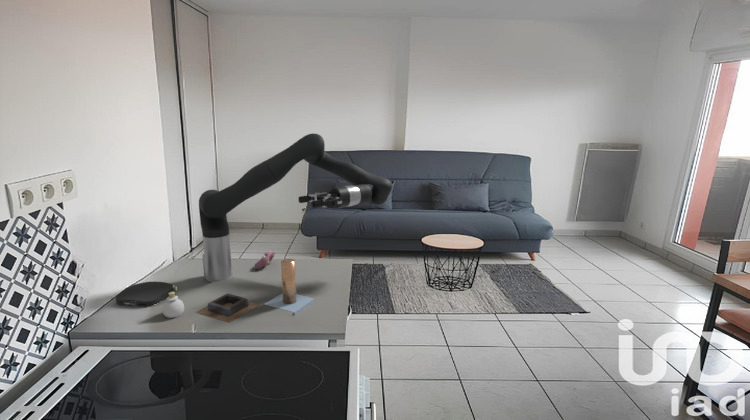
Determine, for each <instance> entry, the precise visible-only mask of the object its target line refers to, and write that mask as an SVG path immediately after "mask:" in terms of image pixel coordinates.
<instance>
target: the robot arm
mask: <svg viewBox="0 0 750 420" xmlns="http://www.w3.org/2000/svg"><path fill="white" fill-rule="evenodd" d="M325 147H326V146H325V140H324V138H323V136H322V135H320V134H319V133H308V134H305V135H303V136H302V137H301V138H299V139H298V140H296V141H295V142H293V143H292V144H291V145H289V146H288V147H286V148H285V149H283V150H282V151H280V152H278V153H277V154H275V155H273V156H271V157H270V158H268V159H266V160H264V161H262V162H260V163H258V164H257V165H255V166H254V167H252V168H250V169H249V170H247V171H246V172H245V173H244V174H243V175H242V176H241V177H240V178H239V179H238V180H237V181H235V182H234V183H233V184H231V185H229V186H228V187H225V188H224V189H221V190H217V189H208V190H205V191H204V192H202V193H201V195H200V197H199V199H198V210H199V219H200V220H199V222H200V226H201V233H202V244H203V254H202V267H203V278H204V279H205V280H206V281H207V282H208V283H210V284H211V283H213V282H219V281H225V280H228V279H230V278H231V277H233V266H232V252H231V251H232V250H231V238H230V237H231V236H230V226H229V222H228V217H227V214H228V213H229V212H232V210H234V209H235V208H237V207H238V206H239V205H241V204H242V203H243V202H245V201H246V200H248V199H251V198H252V197H254V196H256V195H258V194H260V193H262V192H263V191H265V190H267V189H269V188H271V187H272V186H273V185H276V184H277V183H279V182H280V181H281V180H283V179H284V178H285V177H286V176H287V175H288V174H289V172H290V171H291V170H292V169H293V168H294V167H295V166H296V165H297V164H298V163H300V162H301V161H305V162H306V163H309V164H310V165H312V166H314V167H317V168H320V169H323V170H324V171H327V172H330V173H331V174H334V175H335V176H338V177H339V178H341V179H342V180H345V181H346V182H348V183H349V184H348V185H342V186H341V185H340V186H334V187H332V188H331V189H330V190H329V192H325V191H324V192H322V191H316V192H307V193H306V195H301V196H298V203H299V204H304V203H310V204H311V208H313V209H315V208H327V209H330V208H331V209H332V208H334V209H341V208H347V207H348V208H349V207H353V206H357V205H361V204H362V205H363V204H368V205H377V206H381V205H383V204H384V203H386V201H387V199H388V197H390V194H391V192H392V190H393V184H392V182H391V181H390V180H389V179H388V178H386V177H384V176H380V175H377V174H374V173H372V172H368V171H366V170H364V169H363V168H361V167H359V166H357V165H356V164H354V163H352V162H349V161H343V160H339V159H337V158H334V157H333V156H332V155H330V154H329V153H327V152H326V149H325ZM350 184H351V185H350ZM370 185H371V187H370Z"/></svg>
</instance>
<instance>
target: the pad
mask: <svg viewBox="0 0 750 420" xmlns="http://www.w3.org/2000/svg"><path fill="white" fill-rule="evenodd" d="M296 299H297V301H296V302H295V303H293V304H284V303H283V292H282V293H281V294H279V295H277V296H275V297H273V298H272V299H270V300H269V301H266V302H265V303H264V305H266V306H268V307H272V308H273V307H274V308H277V309H280V310H284V311H289V312H292V314H291V315H292V316H296V315H298V313H301V311H303V310H304V309H306V308H307V307H308V306H310V305H312V303H314V302H315V298H313V297H310V296H305V295H302V294H298V293H296Z"/></svg>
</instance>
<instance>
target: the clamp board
mask: <svg viewBox="0 0 750 420" xmlns="http://www.w3.org/2000/svg"><path fill="white" fill-rule="evenodd" d="M259 306H260V304H259V303H254V302H251V301H249V300H248V298H247V297H242V296H241V295H240V296H239V295H236V294H232V293H228V292H227V293H226V294H224V295H222V296H220V297H217V298H215V299H214V300H211V301H210V302H208V303H207V305H206V306H205V307H203V308H201V309H199V310H196V313H198V314H200V315H204V316H208V317H211V318H214V319H218V320H221V321H223V322H227V323H232V322H233V321H235V320H237V319H239V318H240V317H242V316H243V315H244V316H245V314H247V313H249V312H250V311H252V310H253V309H255V308H257V307H259Z"/></svg>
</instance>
